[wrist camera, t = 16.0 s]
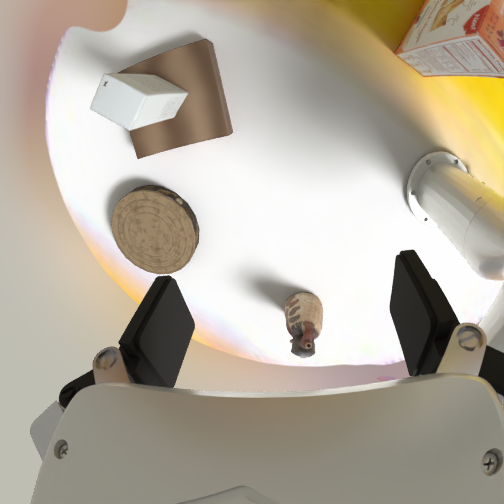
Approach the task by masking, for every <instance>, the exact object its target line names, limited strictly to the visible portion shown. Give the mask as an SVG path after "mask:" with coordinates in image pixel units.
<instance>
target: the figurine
mask: <svg viewBox="0 0 504 504" xmlns="http://www.w3.org/2000/svg"><path fill="white" fill-rule="evenodd" d="M285 317H286V326H287V330H288V332H289V333H290V335H291V336H292V337H293V339H292V340H290V342H291V343H292V350H291V352H292V353H293V354H295V355H297V356H300V357H302V358H307V357H310V356H312V355H314V354H315V344H314V339H316V338H317V337H318V336H319V335H320V333H321V329H322V319H323V308H322V303H321V301H320V300H319V298H318V297H317V296H315V295H313V294H311V293H297V294H294V295H292V296H291V297H290V298H289V299H288V300H287V301H286V303H285Z"/></svg>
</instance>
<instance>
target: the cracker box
mask: <svg viewBox="0 0 504 504" xmlns="http://www.w3.org/2000/svg"><path fill="white" fill-rule="evenodd" d="M395 55H397V56H398V57H400V58H401V59H402V60H403V61H405V62H406V63H407V64H409V65H410V66H411V67H412V68H414V69H415V70H416V71H417V72H418V73H420V74H421V75H422V76H423V77H434V76H478V77H494V78H504V0H425V2H424V4H423V6H422V7H421V9H420V11H419V13H418V14H417V16H416V18H415V20H414V21H413V23H412V25H411V27H410V28H409V30H408V32H407V33H406V35H405V37H404V39H403V40H402V42H401V44H400V45H399V47H398V49H397V51H396V52H395Z"/></svg>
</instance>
